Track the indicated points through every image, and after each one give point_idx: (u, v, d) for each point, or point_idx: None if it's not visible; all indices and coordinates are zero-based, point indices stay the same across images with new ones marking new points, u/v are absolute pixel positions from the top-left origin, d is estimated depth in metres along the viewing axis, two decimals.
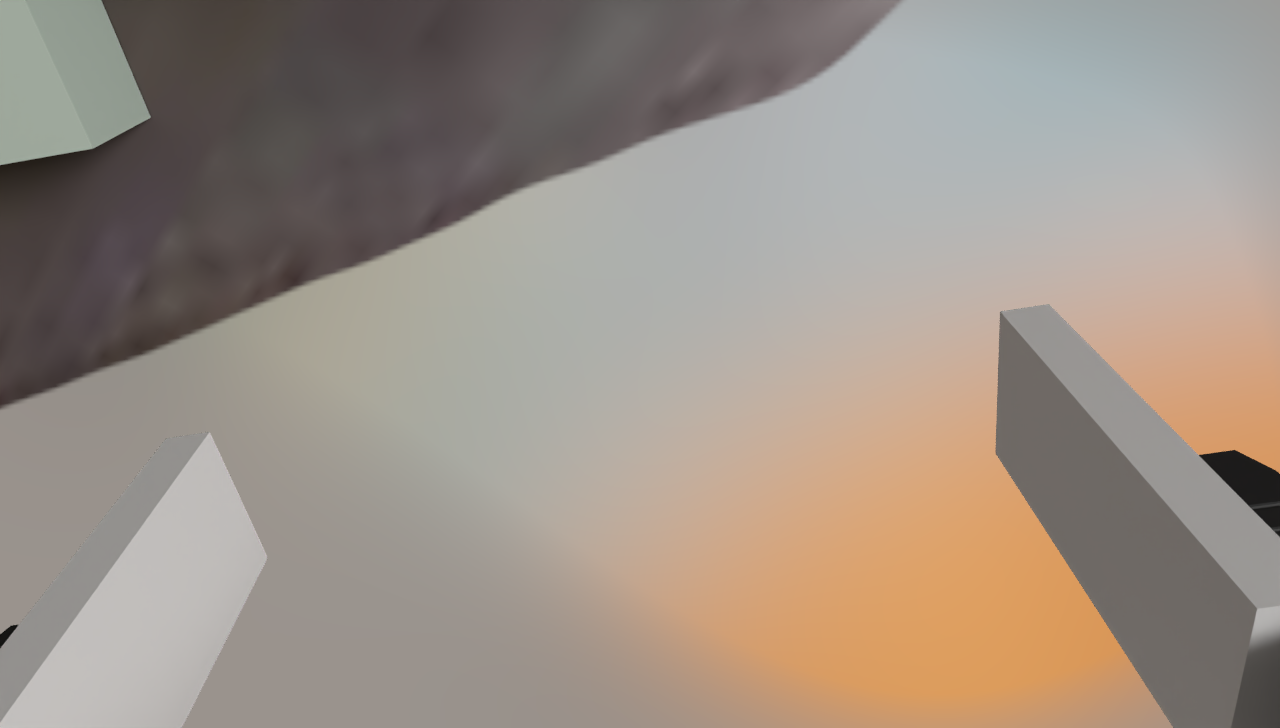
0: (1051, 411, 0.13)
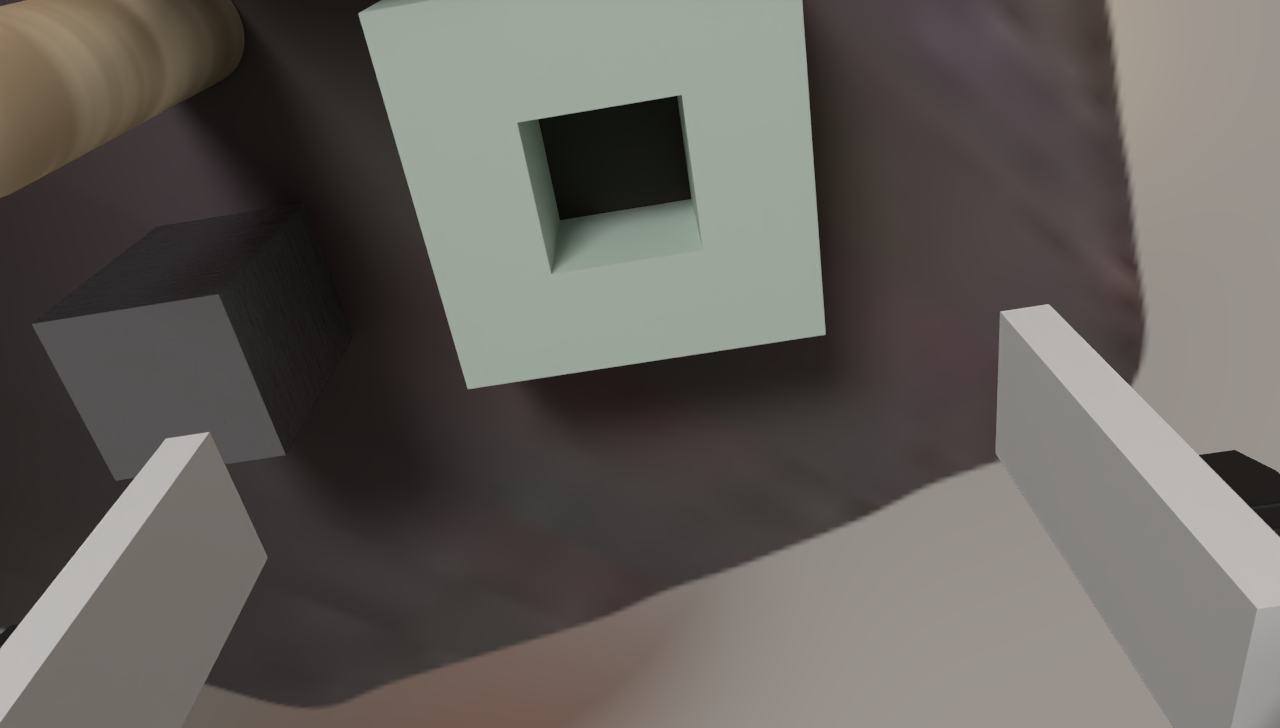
0: (1051, 411, 0.13)
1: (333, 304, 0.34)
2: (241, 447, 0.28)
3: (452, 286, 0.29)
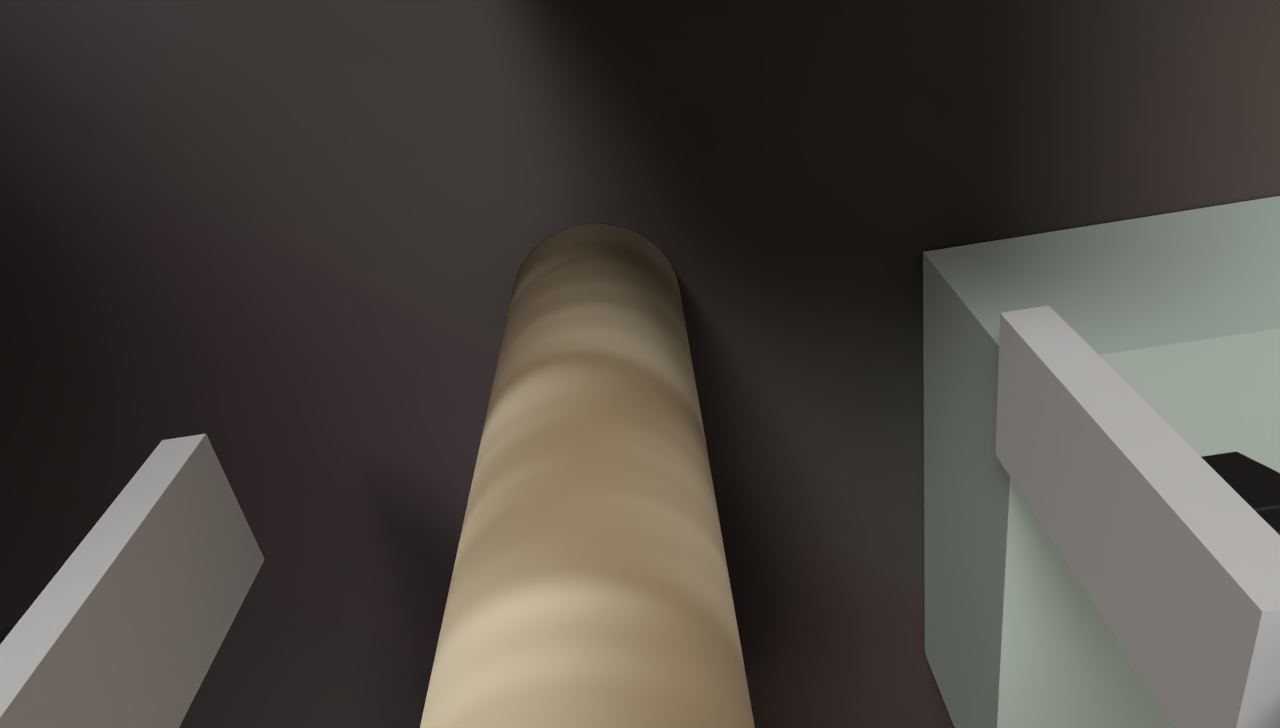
0: (1051, 413, 0.13)
1: None
2: None
3: (1020, 707, 0.19)
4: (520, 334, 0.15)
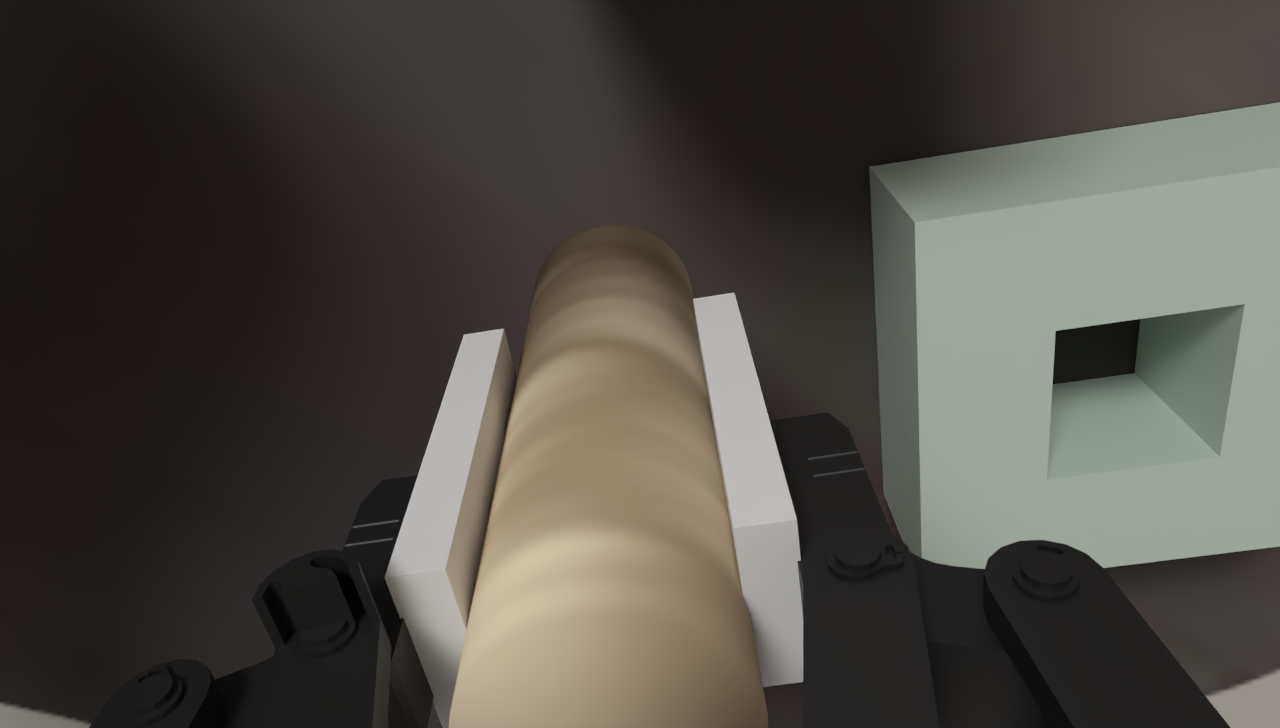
0: (706, 382, 0.15)
1: None
2: None
3: (936, 490, 0.26)
4: (544, 324, 0.17)
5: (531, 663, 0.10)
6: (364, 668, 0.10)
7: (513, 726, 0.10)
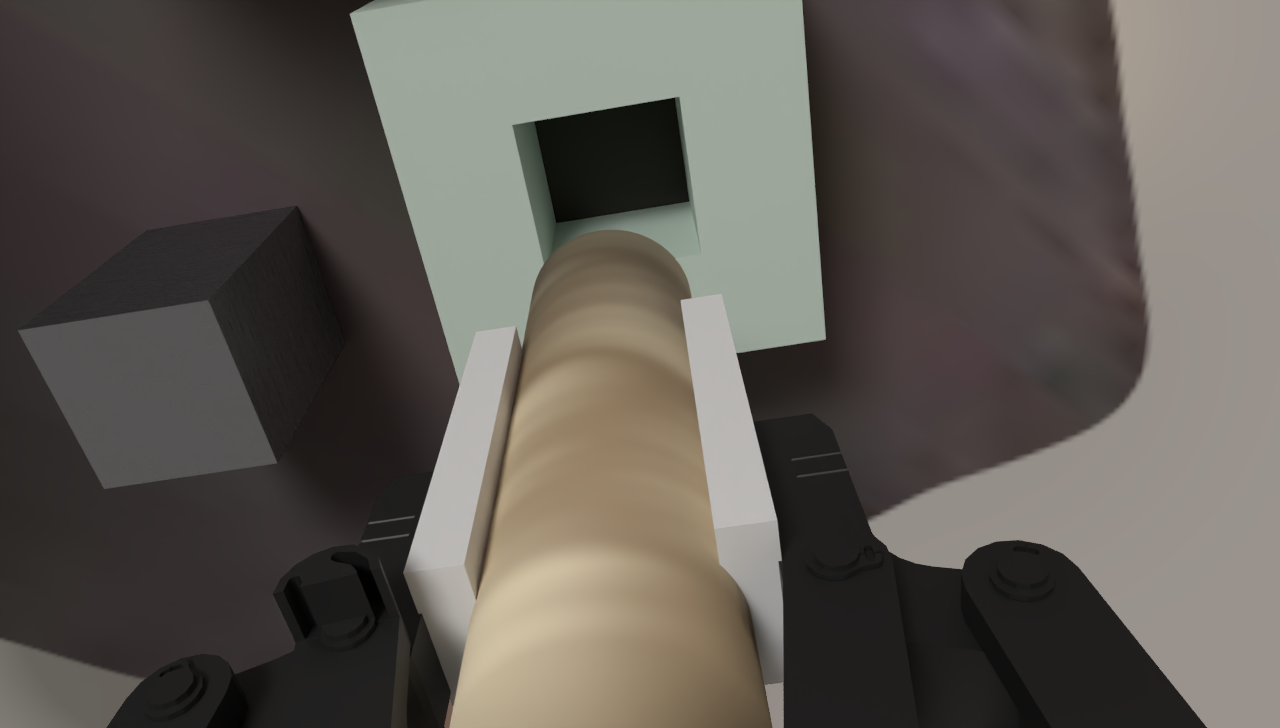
0: None
1: (326, 308, 0.33)
2: (232, 455, 0.27)
3: (446, 291, 0.28)
4: (542, 332, 0.16)
5: (530, 688, 0.09)
6: (383, 664, 0.10)
7: None
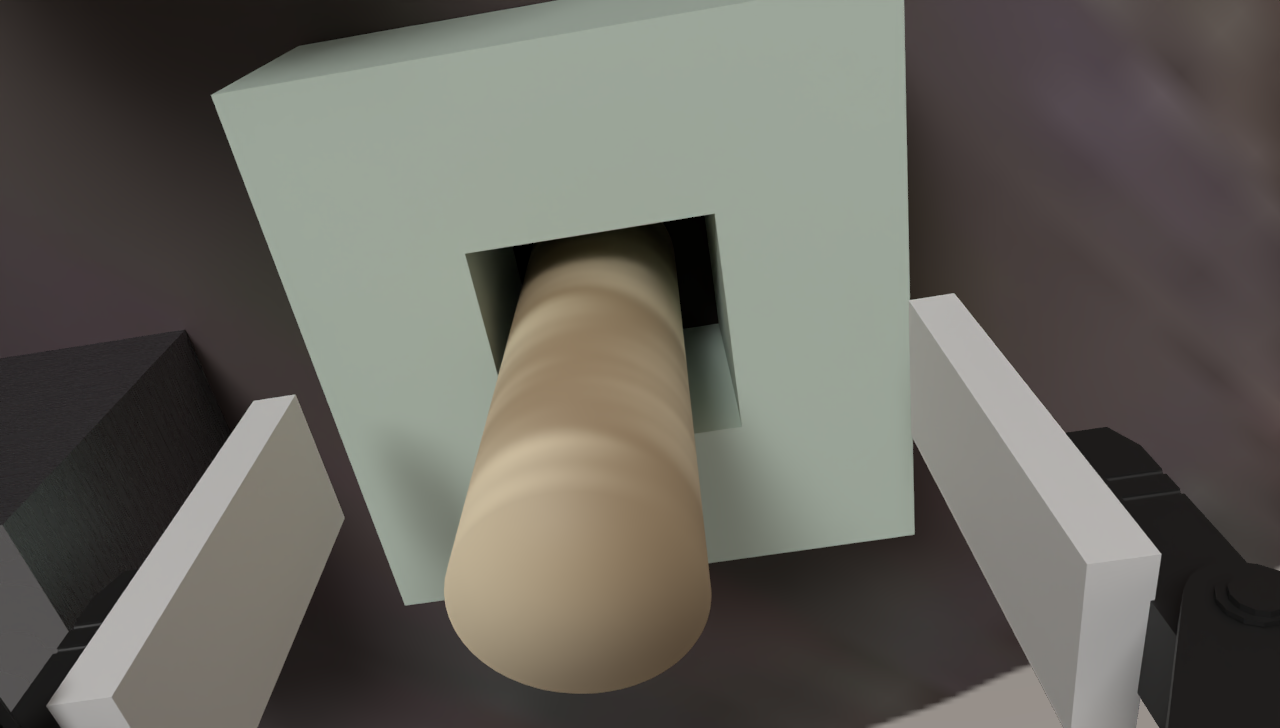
0: (947, 392, 0.14)
1: None
2: None
3: (377, 475, 0.20)
4: (535, 278, 0.19)
5: (510, 535, 0.12)
6: None
7: (497, 592, 0.12)
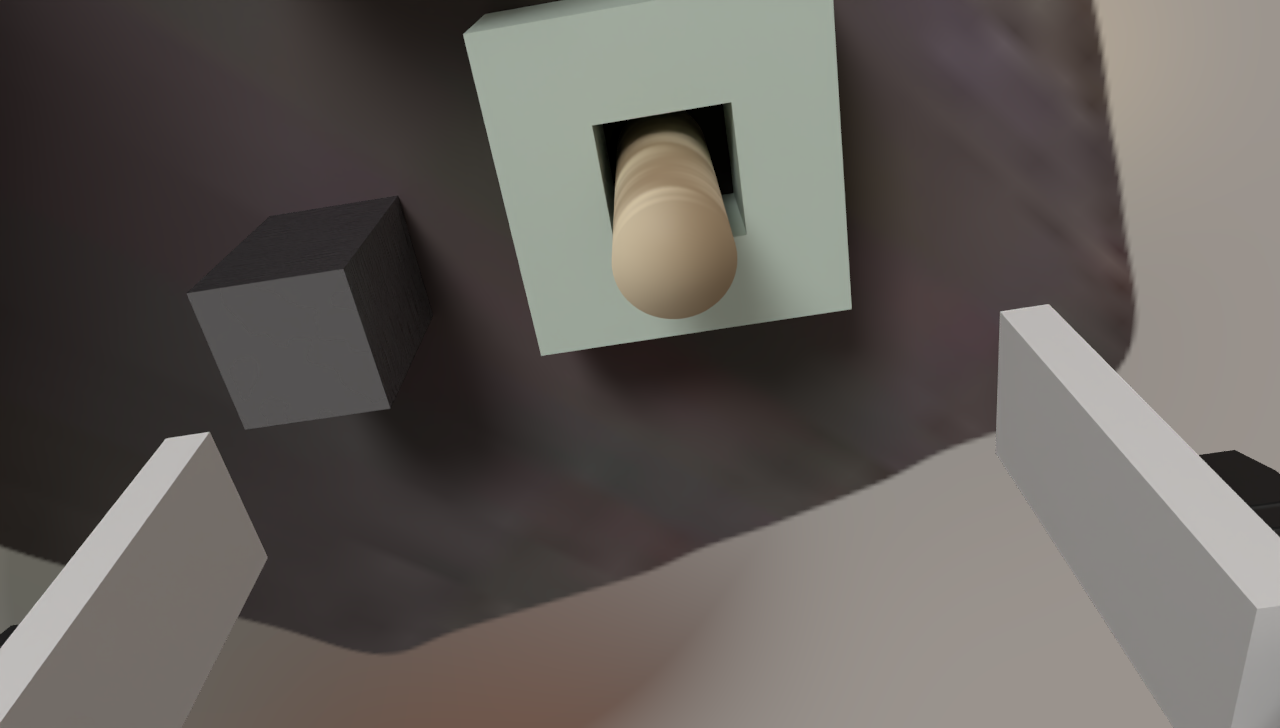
0: (1051, 411, 0.13)
1: (419, 284, 0.39)
2: (353, 401, 0.33)
3: (531, 265, 0.34)
4: (629, 145, 0.32)
5: (644, 225, 0.26)
6: None
7: (636, 258, 0.26)
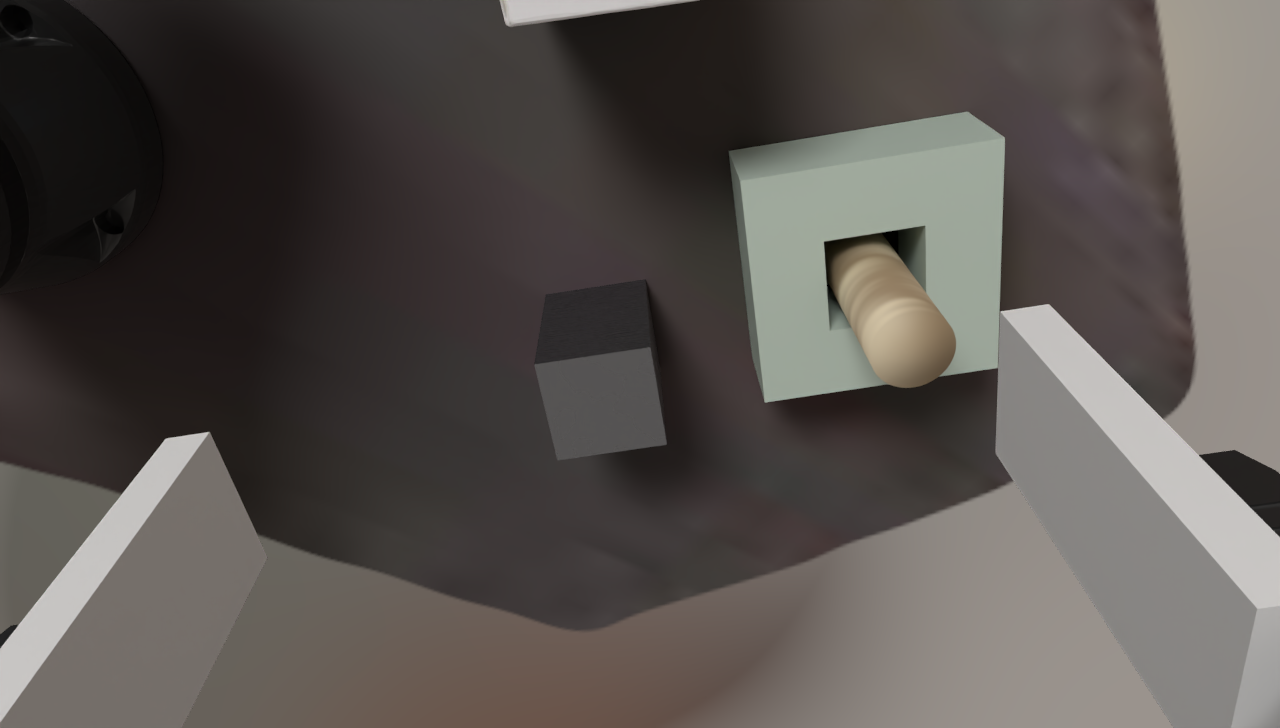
0: (1051, 411, 0.13)
1: None
2: (640, 439, 0.45)
3: (766, 338, 0.46)
4: (843, 252, 0.45)
5: (896, 327, 0.38)
6: None
7: (887, 348, 0.38)
